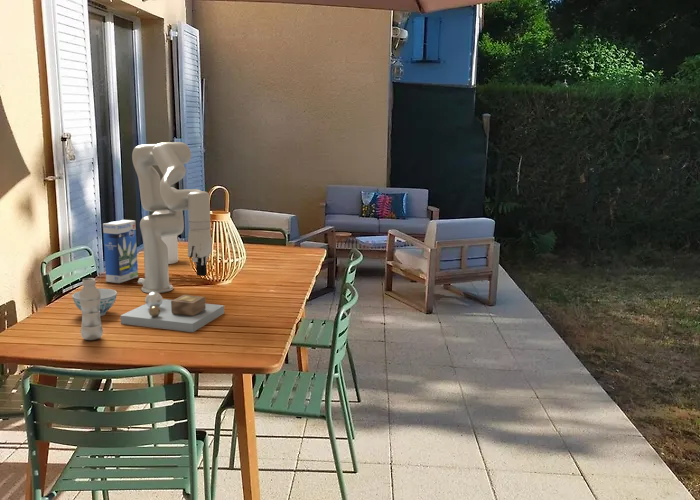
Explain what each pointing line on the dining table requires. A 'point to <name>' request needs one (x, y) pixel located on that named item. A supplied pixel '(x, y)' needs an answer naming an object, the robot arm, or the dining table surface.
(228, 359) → the dining table surface
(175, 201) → the robot arm
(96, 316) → the plastic bottle
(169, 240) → the bottle
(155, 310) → the bronze ball
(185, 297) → the walnut cover
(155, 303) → the steel boule
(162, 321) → the hole board
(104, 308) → the chinaware
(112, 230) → the string lights box
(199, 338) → the dining table surface
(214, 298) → the dining table surface
